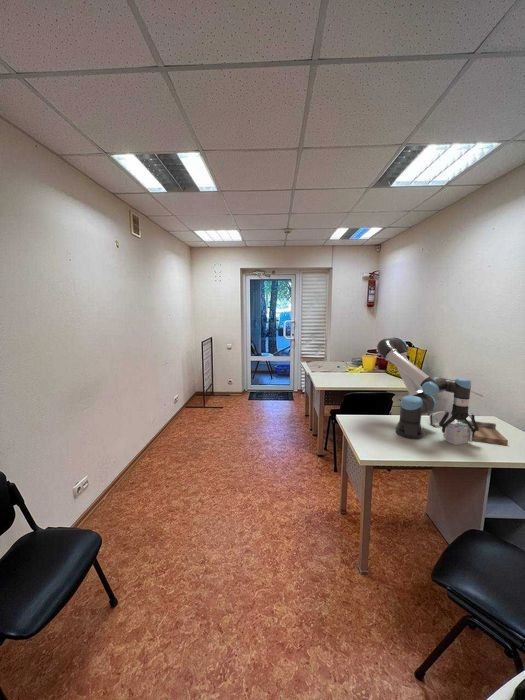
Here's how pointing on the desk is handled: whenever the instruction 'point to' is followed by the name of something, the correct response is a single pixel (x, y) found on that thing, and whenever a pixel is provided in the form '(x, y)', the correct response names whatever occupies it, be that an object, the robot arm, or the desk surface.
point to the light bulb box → (457, 433)
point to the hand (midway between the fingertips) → (456, 439)
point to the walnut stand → (487, 433)
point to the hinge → (438, 418)
